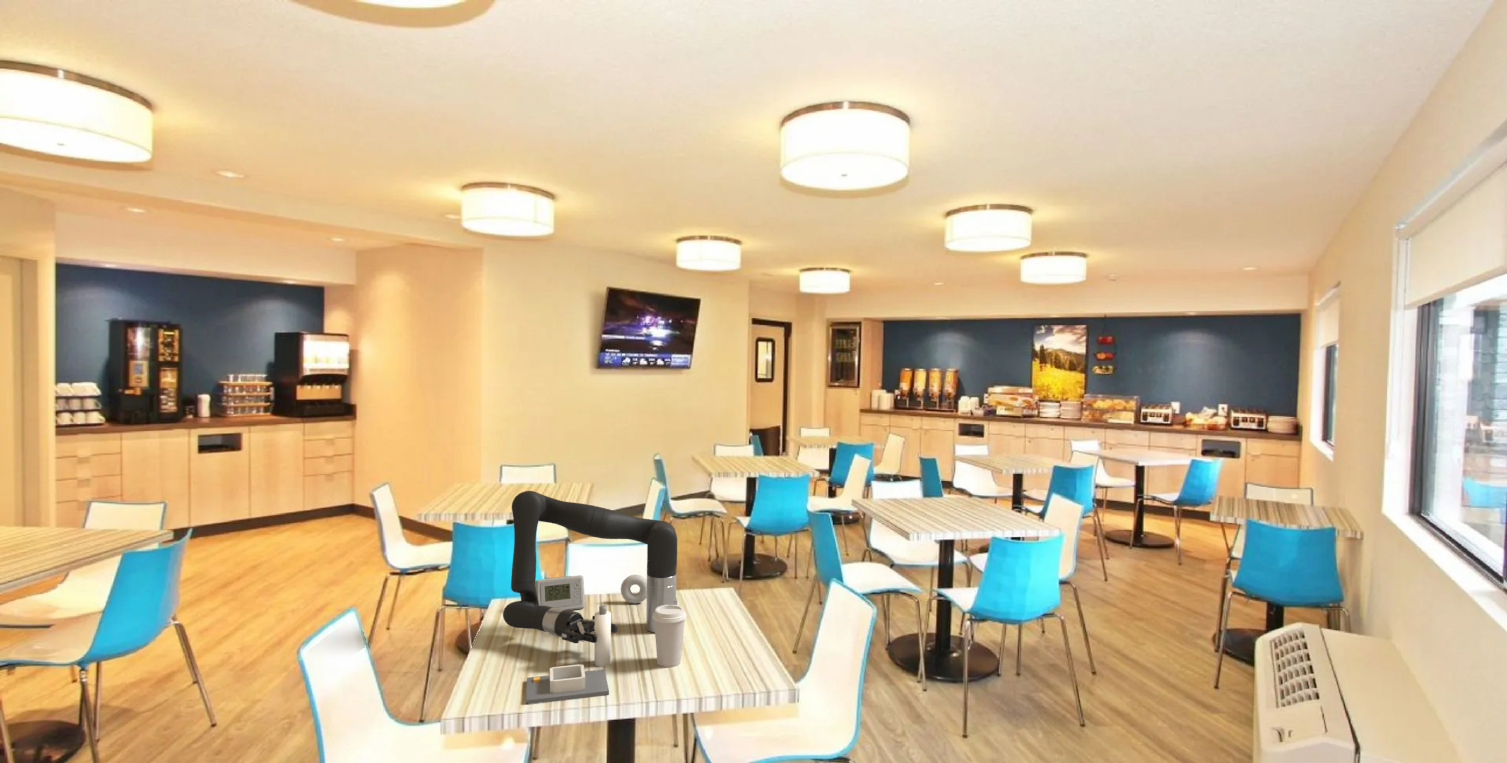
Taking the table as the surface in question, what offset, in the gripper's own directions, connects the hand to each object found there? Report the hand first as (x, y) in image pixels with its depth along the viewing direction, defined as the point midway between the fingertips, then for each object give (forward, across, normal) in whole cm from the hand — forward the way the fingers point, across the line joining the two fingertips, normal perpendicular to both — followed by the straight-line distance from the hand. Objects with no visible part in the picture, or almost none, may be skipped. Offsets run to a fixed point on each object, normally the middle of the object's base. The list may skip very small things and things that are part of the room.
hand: (606, 633), depth 201 cm
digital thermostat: (-42, +26, +9) cm, 50 cm away
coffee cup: (+14, +10, +9) cm, 19 cm away
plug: (-1, 0, +8) cm, 9 cm away
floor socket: (+1, -16, +8) cm, 18 cm away
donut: (-24, +44, +9) cm, 51 cm away
